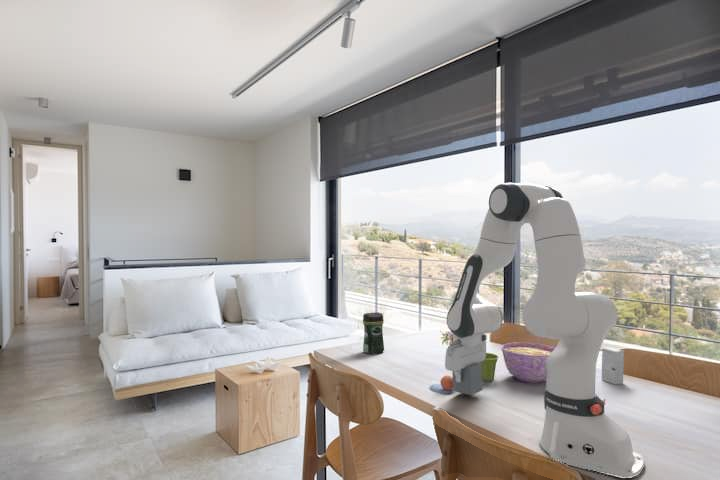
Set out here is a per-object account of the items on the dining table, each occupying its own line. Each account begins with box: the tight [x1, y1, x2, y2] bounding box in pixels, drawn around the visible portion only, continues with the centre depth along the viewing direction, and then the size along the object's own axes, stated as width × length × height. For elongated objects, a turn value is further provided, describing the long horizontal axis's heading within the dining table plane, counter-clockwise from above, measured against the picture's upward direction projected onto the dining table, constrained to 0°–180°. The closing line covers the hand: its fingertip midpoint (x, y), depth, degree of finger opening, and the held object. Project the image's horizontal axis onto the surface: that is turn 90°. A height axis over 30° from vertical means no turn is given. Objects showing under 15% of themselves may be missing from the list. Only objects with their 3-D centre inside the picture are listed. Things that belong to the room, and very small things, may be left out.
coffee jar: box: [362, 312, 385, 354], centre depth 202 cm, size 10×8×19 cm
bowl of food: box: [501, 341, 556, 384], centre depth 162 cm, size 20×20×12 cm
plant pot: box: [479, 352, 499, 382], centre depth 163 cm, size 9×9×9 cm
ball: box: [439, 375, 453, 391], centre depth 150 cm, size 5×5×5 cm
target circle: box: [429, 383, 455, 394], centre depth 152 cm, size 9×9×1 cm
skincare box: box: [601, 346, 625, 385], centre depth 159 cm, size 6×4×12 cm
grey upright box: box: [451, 363, 484, 396], centre depth 144 cm, size 7×7×9 cm
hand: (466, 378), depth 145 cm, fingers closed on grey upright box, 7 cm apart
